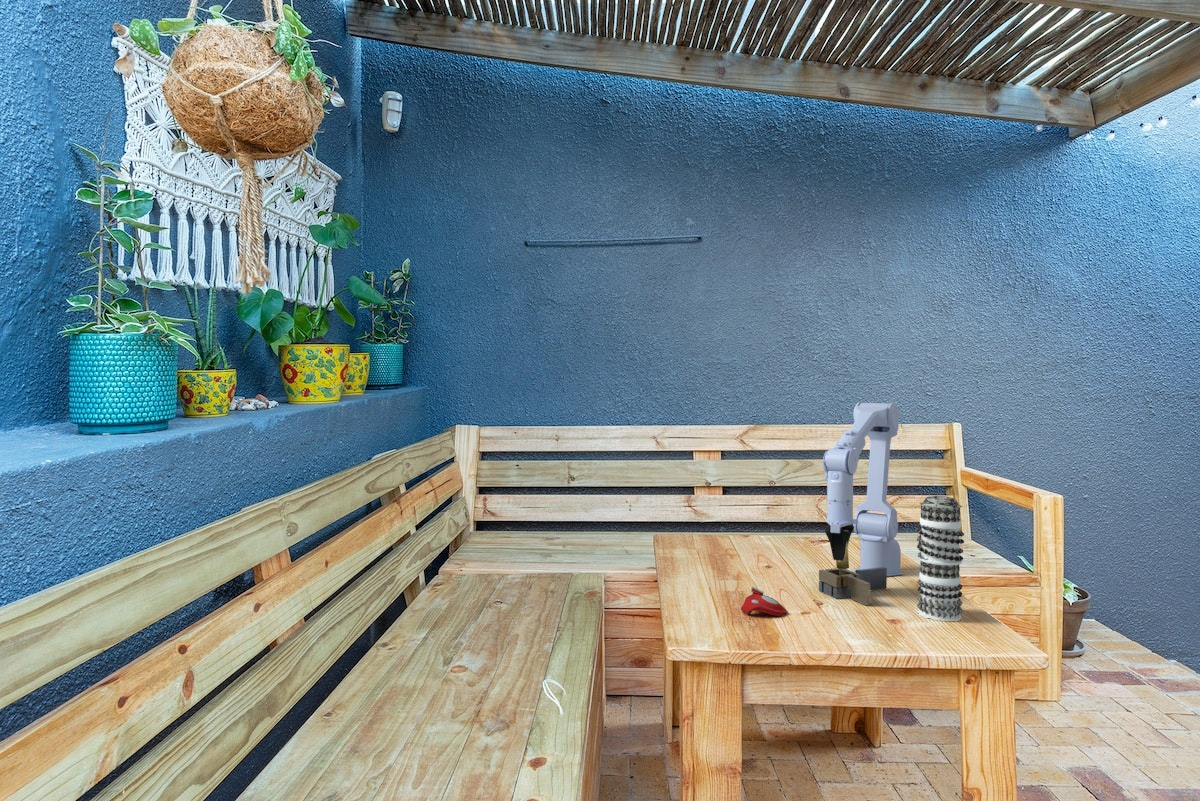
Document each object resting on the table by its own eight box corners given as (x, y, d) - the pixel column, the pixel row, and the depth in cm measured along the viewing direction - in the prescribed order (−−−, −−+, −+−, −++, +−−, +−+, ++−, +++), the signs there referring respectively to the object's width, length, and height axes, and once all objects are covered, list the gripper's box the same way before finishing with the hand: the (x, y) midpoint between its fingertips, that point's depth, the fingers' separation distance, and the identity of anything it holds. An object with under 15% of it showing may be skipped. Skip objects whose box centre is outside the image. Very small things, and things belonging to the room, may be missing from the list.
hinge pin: (844, 565, 170) (841, 528, 170) (854, 568, 166) (851, 530, 167) (831, 567, 168) (828, 530, 169) (841, 570, 165) (838, 532, 165)
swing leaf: (818, 590, 170) (818, 570, 170) (842, 587, 172) (842, 567, 172) (855, 606, 158) (855, 585, 157) (880, 603, 160) (880, 582, 160)
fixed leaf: (836, 599, 164) (836, 577, 164) (818, 591, 170) (818, 570, 170) (894, 592, 169) (895, 571, 169) (875, 584, 175) (875, 564, 175)
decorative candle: (905, 611, 155) (906, 495, 154) (937, 606, 158) (938, 493, 158) (941, 624, 146) (942, 502, 146) (973, 618, 150) (974, 499, 149)
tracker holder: (797, 609, 154) (763, 606, 149) (789, 628, 154) (756, 625, 149) (759, 583, 164) (727, 578, 159) (753, 600, 164) (720, 597, 159)
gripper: (854, 506, 159) (853, 567, 160) (861, 496, 172) (861, 553, 173) (821, 503, 162) (820, 563, 163) (831, 494, 175) (830, 550, 176)
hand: (839, 558), depth 168 cm, fingers closed on hinge pin, 3 cm apart
